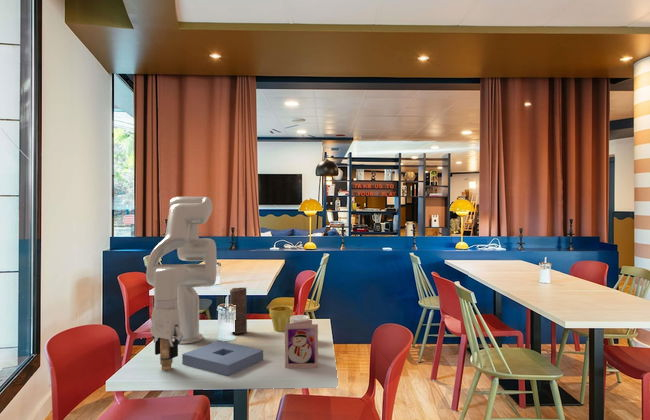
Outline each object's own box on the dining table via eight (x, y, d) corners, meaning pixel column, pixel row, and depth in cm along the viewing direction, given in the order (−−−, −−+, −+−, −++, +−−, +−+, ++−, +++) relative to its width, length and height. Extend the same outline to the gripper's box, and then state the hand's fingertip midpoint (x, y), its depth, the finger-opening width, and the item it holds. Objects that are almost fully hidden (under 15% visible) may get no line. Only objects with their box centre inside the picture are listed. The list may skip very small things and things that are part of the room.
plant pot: (268, 333, 196) (268, 311, 196) (271, 326, 206) (270, 305, 206) (291, 332, 196) (291, 310, 196) (293, 326, 206) (293, 305, 206)
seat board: (182, 363, 158) (182, 354, 158) (218, 349, 173) (218, 340, 173) (228, 375, 146) (228, 365, 146) (263, 359, 162) (263, 350, 162)
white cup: (295, 345, 178) (295, 320, 178) (286, 340, 185) (286, 316, 185) (312, 342, 182) (312, 318, 182) (303, 337, 189) (303, 314, 189)
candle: (242, 336, 191) (242, 289, 191) (226, 335, 193) (226, 289, 193) (249, 331, 199) (249, 286, 199) (234, 330, 200) (233, 286, 200)
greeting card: (284, 368, 153) (284, 325, 153) (286, 361, 160) (286, 319, 160) (318, 368, 153) (317, 324, 153) (317, 360, 160) (317, 319, 160)
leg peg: (157, 369, 152) (157, 334, 152) (167, 365, 156) (167, 331, 156) (165, 371, 150) (165, 336, 150) (175, 367, 154) (175, 333, 154)
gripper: (140, 303, 154) (140, 354, 154) (174, 308, 145) (174, 363, 145) (158, 299, 161) (158, 348, 161) (192, 304, 152) (192, 356, 152)
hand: (166, 355), depth 153 cm, fingers open, 6 cm apart
